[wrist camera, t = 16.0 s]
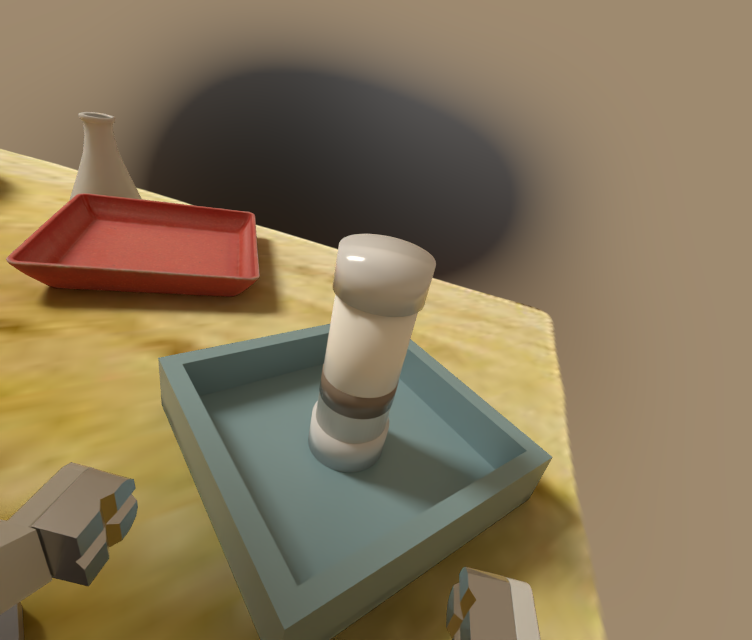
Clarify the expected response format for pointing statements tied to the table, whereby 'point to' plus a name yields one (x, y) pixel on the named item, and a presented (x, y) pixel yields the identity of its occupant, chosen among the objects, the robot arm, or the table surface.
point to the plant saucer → (142, 248)
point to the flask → (102, 161)
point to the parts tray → (336, 478)
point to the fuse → (366, 346)
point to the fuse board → (12, 623)
